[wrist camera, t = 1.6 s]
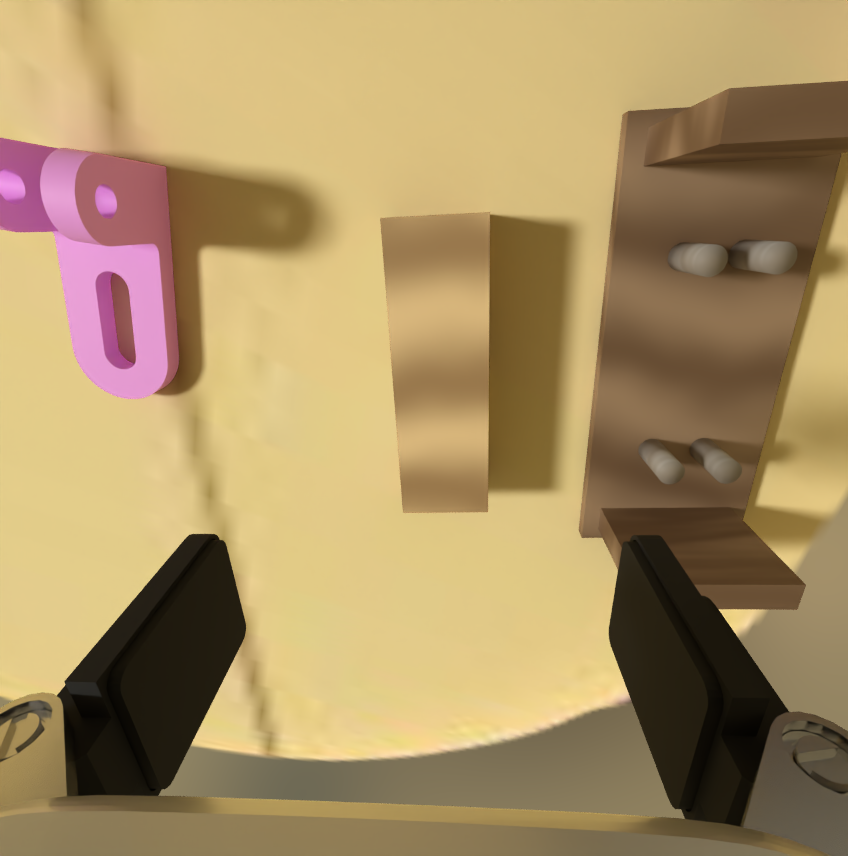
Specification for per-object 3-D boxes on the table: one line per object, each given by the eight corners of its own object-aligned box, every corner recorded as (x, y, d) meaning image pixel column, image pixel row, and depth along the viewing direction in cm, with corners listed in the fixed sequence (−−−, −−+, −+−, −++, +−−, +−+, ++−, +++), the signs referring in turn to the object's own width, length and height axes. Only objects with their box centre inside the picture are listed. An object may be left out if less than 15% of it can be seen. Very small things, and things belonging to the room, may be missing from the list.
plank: (390, 218, 25) (380, 218, 22) (484, 213, 25) (489, 212, 21) (408, 479, 32) (403, 512, 28) (483, 478, 31) (487, 511, 28)
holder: (622, 114, 23) (702, 64, 15) (843, 101, 22) (1032, 42, 15) (578, 530, 32) (615, 618, 25) (731, 529, 31) (814, 620, 24)
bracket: (61, 149, 25) (-76, 124, 18) (167, 166, 25) (68, 147, 18) (95, 384, 30) (-1, 428, 23) (183, 397, 30) (110, 445, 24)
